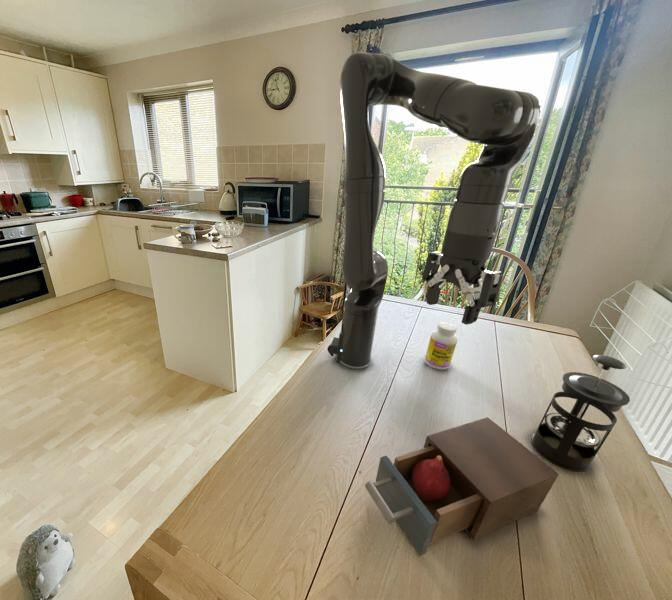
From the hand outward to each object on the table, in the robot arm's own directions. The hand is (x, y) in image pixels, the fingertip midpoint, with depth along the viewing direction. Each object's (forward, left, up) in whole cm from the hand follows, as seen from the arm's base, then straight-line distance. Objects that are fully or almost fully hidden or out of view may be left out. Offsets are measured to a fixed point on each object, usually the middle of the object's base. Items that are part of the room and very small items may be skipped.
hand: (448, 313), depth 60 cm
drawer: (-1, -23, -27) cm, 35 cm away
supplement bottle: (+5, +26, -28) cm, 39 cm away
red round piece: (0, -22, -25) cm, 34 cm away
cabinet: (+9, -14, -28) cm, 33 cm away
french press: (+27, +3, -28) cm, 39 cm away
